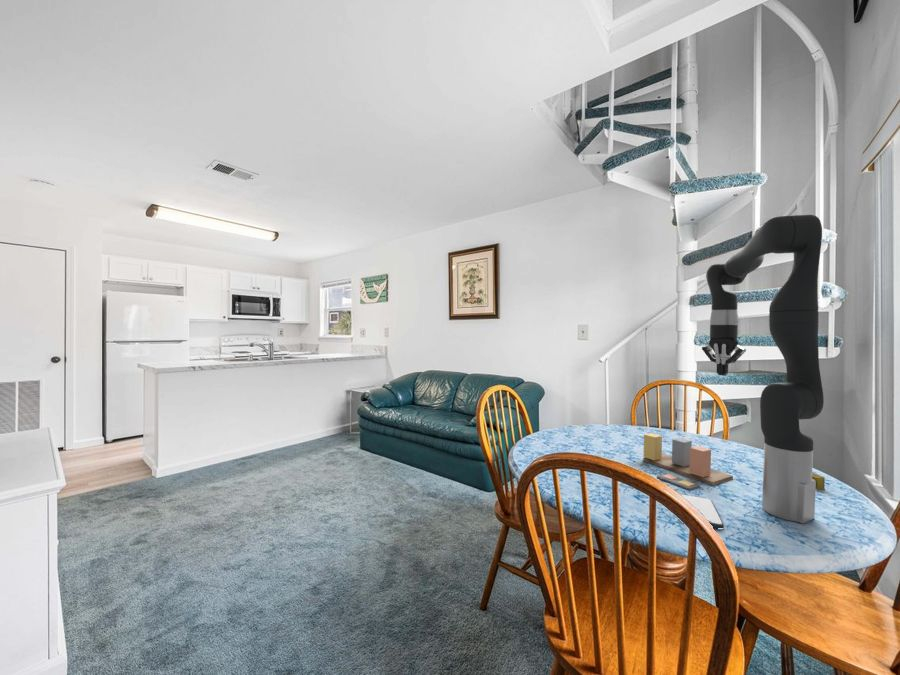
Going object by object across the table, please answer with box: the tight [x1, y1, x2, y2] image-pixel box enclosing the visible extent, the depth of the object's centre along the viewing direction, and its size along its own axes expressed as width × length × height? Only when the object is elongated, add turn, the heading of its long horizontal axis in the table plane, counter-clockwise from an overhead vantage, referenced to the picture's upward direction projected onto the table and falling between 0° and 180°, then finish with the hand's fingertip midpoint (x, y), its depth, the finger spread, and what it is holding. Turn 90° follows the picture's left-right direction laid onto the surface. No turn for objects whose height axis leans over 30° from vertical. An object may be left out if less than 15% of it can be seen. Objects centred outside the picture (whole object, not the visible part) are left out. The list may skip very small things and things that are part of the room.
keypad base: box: [642, 453, 734, 486], centre depth 126 cm, size 23×11×1 cm, turn 27°
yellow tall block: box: [642, 432, 663, 460], centre depth 133 cm, size 4×4×8 cm
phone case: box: [680, 493, 725, 530], centre depth 97 cm, size 9×2×16 cm
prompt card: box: [656, 472, 701, 491], centre depth 115 cm, size 10×5×1 cm, turn 27°
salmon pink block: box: [690, 445, 712, 477], centre depth 118 cm, size 4×4×8 cm
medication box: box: [812, 471, 826, 491], centre depth 116 cm, size 12×3×4 cm, turn 0°
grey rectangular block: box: [671, 437, 693, 467], centre depth 127 cm, size 4×4×8 cm
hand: (722, 375), depth 128 cm, fingers closed
